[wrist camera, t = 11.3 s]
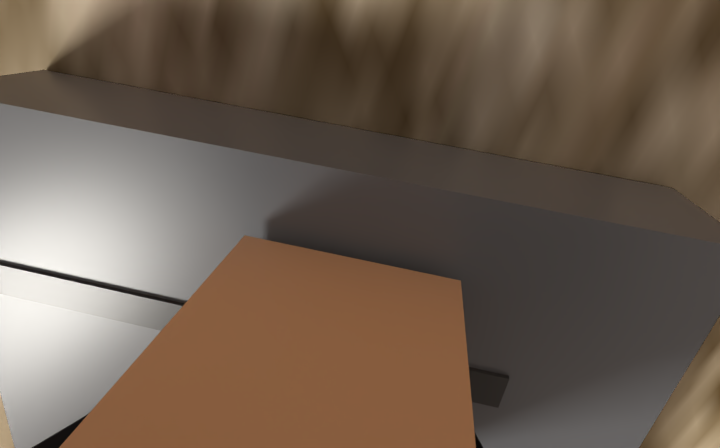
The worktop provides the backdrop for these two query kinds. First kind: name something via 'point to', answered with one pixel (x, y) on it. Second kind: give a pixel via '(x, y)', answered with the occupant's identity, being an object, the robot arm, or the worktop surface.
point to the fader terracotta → (298, 361)
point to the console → (337, 253)
